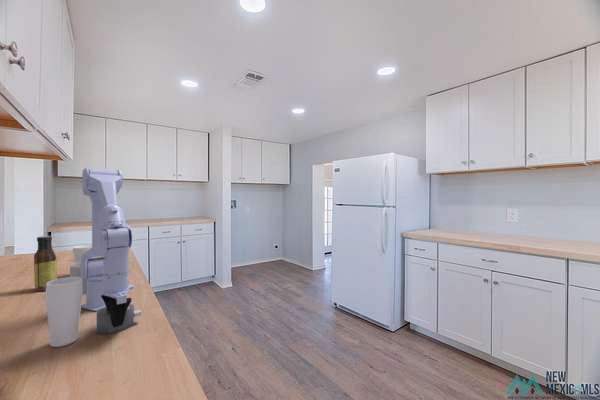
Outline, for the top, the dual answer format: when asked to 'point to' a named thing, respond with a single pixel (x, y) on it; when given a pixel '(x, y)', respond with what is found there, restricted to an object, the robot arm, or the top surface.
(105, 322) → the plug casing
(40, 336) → the top surface
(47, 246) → the sauce bottle
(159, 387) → the top surface
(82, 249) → the foam cup
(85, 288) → the mug
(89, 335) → the top surface
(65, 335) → the drinking glass
